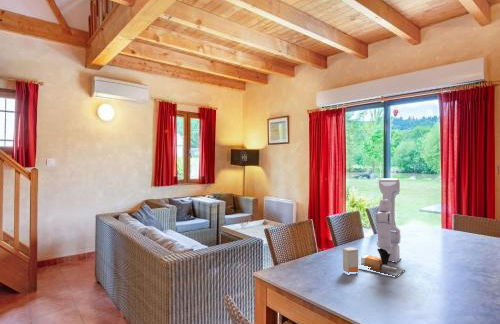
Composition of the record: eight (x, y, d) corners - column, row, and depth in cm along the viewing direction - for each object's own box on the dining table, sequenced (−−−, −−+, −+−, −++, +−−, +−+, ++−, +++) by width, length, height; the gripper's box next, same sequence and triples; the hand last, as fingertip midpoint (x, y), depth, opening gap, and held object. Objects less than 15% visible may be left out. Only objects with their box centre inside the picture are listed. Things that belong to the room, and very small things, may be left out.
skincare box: (347, 275, 141) (347, 250, 141) (342, 272, 145) (342, 248, 145) (359, 274, 143) (358, 249, 143) (353, 271, 147) (353, 246, 147)
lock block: (365, 265, 151) (365, 257, 151) (369, 263, 154) (369, 255, 154) (379, 269, 146) (379, 260, 146) (383, 266, 149) (383, 258, 149)
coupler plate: (366, 262, 159) (366, 253, 159) (404, 271, 145) (404, 260, 145) (356, 268, 150) (356, 258, 150) (396, 278, 137) (395, 267, 137)
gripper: (399, 240, 139) (399, 269, 139) (386, 232, 153) (387, 259, 153) (383, 240, 139) (384, 269, 139) (372, 232, 154) (373, 259, 154)
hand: (384, 264), depth 146 cm, fingers closed
